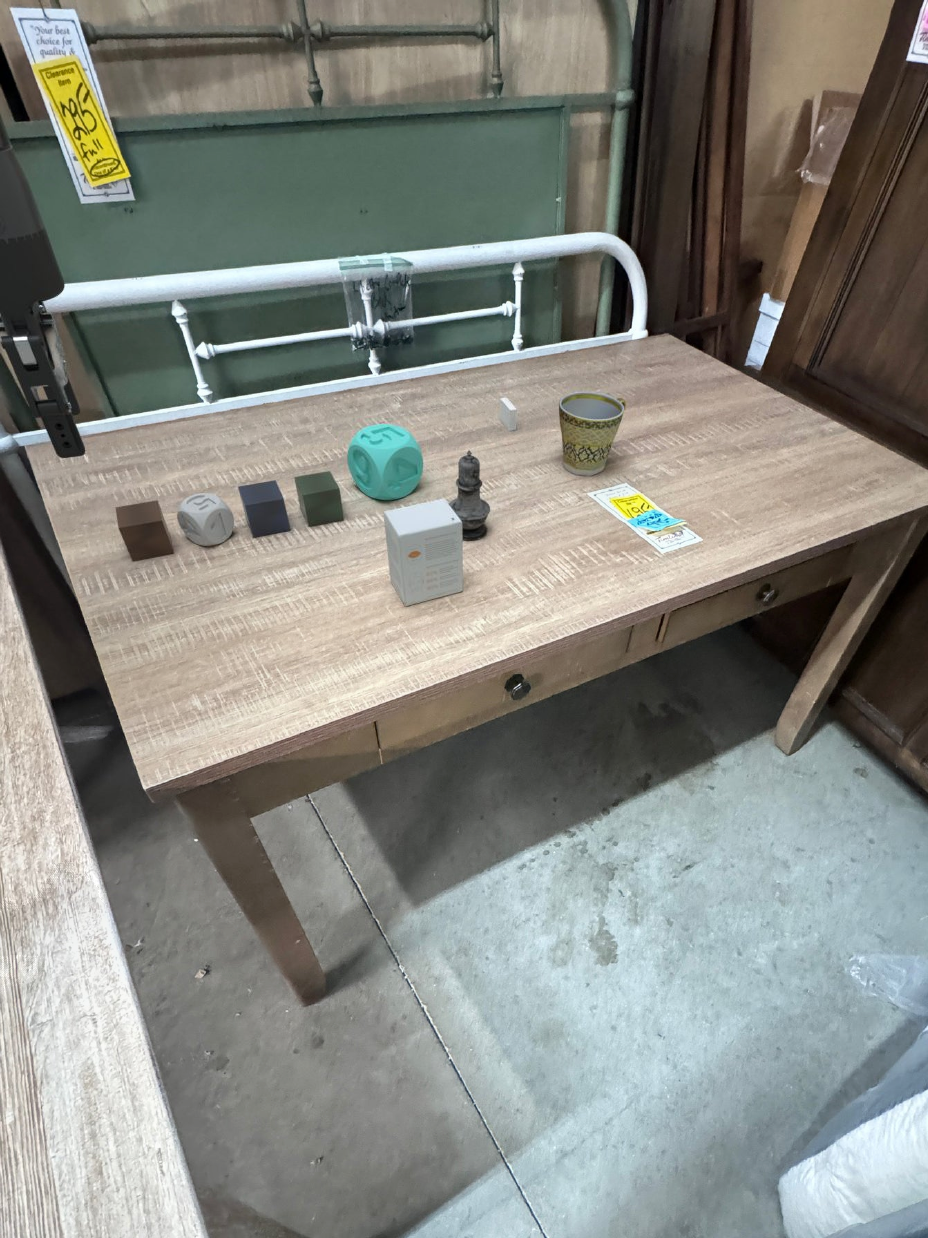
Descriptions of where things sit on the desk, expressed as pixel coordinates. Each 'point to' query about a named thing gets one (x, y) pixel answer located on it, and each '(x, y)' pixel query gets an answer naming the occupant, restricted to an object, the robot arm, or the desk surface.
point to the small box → (424, 551)
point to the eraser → (508, 414)
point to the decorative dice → (385, 461)
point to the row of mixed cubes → (261, 508)
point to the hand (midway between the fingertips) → (70, 434)
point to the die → (205, 519)
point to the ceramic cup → (588, 430)
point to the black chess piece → (470, 499)
